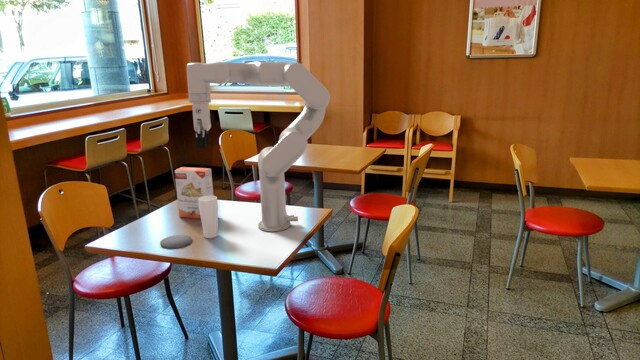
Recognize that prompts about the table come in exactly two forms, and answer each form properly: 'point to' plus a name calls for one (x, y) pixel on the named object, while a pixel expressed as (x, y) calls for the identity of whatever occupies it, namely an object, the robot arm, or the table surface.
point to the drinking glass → (209, 215)
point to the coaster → (175, 241)
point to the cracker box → (192, 189)
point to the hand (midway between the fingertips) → (203, 145)
